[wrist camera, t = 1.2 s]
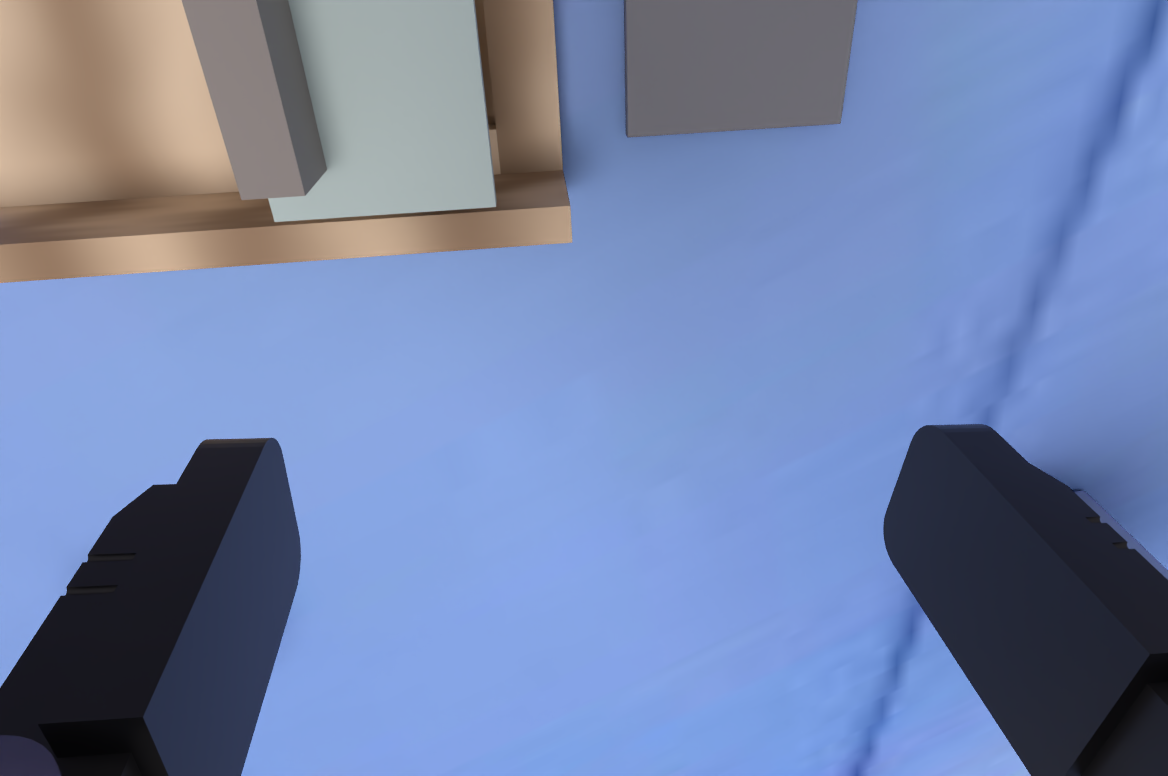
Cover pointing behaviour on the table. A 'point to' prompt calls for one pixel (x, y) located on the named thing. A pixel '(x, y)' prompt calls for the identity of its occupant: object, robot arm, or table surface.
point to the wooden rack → (224, 150)
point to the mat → (734, 64)
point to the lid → (348, 103)
